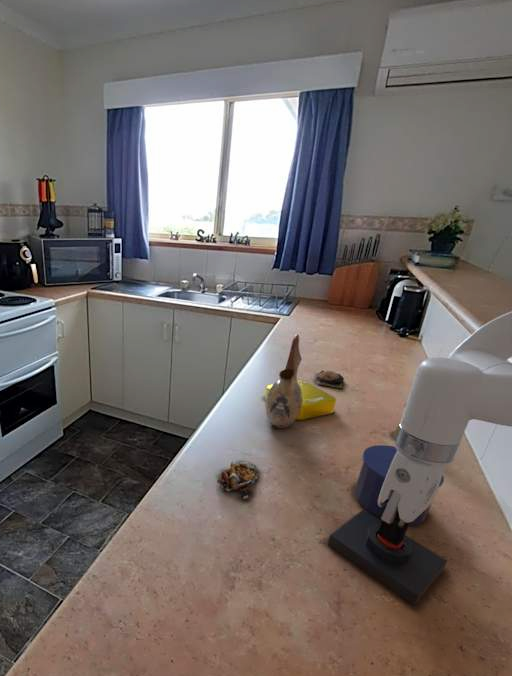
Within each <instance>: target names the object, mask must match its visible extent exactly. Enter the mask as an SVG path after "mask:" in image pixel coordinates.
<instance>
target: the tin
mask: <svg viewBox="0 0 512 676" xmlns="http://www.w3.org/2000/svg"><path fill="white" fill-rule="evenodd" d="M362 461H363V460H362ZM360 468H361V469H360V471H359V474H358V478H357V482H356V485H355V489H354V496H355V499H356V501H357V502H358V504H360V506H361V507H362V508H364V509H365V511H366V512H368V513H369V514H371V515H373V516H374V517H376V518H378V519H381V517H382V515H383V513H384V511H385V508H386V506H387V504H385V505H384V506H383V507H379V505H378V498H379V494H380V491H381V488H382V486H383V483H384V479H383V478H381V477H379V476H378V475H376V474H375V473H373V472H372V471H371V470H370V469H369V468H368V467H367V466H366V465H365V463H364V461H363V462H362V464H361V467H360ZM432 504H433V502H432V503H431V505H430V506H429V507H428V508H427V509H426V510H425V511H423V512H422V513H421V514H420V515H419V516H418V517H417V518H416V519H415V520H414V521H412V522H409V525H408V527H409V526H416V525H420V524H421V523H423V522H424V521H425V519H426V518H427V516H428V514H429V512H430V509H431V506H432Z"/></svg>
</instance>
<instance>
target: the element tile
mask: <svg viewBox="0 0 512 676" xmlns="http://www.w3.org/2000/svg"><path fill="white" fill-rule="evenodd" d="M297 382H298V384H299V386H300V388H301V391H302V407H301V411H300V413H299V415H298V417H297V418H296V420H298V421H299V420H300V421H301V420H307V419H311V418H316V417H322V416H325V415H330V414H332V413H334V411H335V407H336V404H337V398H336V397H335V396H333V395H331V394H329V393H328V392H326V391H325V390H322V389H320V388H318V387H317V386H315V385H313V384H312V383H309V382H308V381H305V380H304V379H301V380H300V379H297ZM273 384H274V383H272V384H269V385H267V386H266V390H265V395H264V399H265V400H266V398H267V394H268V392H269V390H270V388H271V386H272V385H273Z"/></svg>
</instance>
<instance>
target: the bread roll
mask: <svg viewBox="0 0 512 676" xmlns="http://www.w3.org/2000/svg"><path fill="white" fill-rule="evenodd" d="M344 378H345V377H343V375H341V373H337V372H335V371H332V370H321V371H320V372H319V373H318V374H317V377H316V384H317V385H320V386H325V387H331V388H336V389H342V387H343V383H344Z"/></svg>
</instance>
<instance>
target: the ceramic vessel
mask: <svg viewBox="0 0 512 676" xmlns="http://www.w3.org/2000/svg"><path fill="white" fill-rule="evenodd" d="M300 339H301V338H300V335H299V334H295V335H294V336H293V338H292V342H291V346H290V351H289V353H288V359H287V362H286V364H285V368H284V369H283V370H281V371H280V372H279V374H278V378H279V379H277V380H276V381H275V382H273V383H272V384H273V385H272V384H271V385H272V386H271V388H270V390H269V392H268V394H267V398H266V399H265V405H264V406H265V408H264V409H265V415H266V418H267V419H268V422H269V423H270V424H271V425H272V426H273V427H275V428H277V429H285V428H287V427H289V426H291V425H292V424H293V423H295V421H296V420H297V419H296V418H297V417H298V415H299V413H300V411H301V407H302V391H301V388H300V386H299V384H298V382H297V380H298V370H299V367H300V365H301V362H302V360H303V359H302V354H301V352H300Z"/></svg>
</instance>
